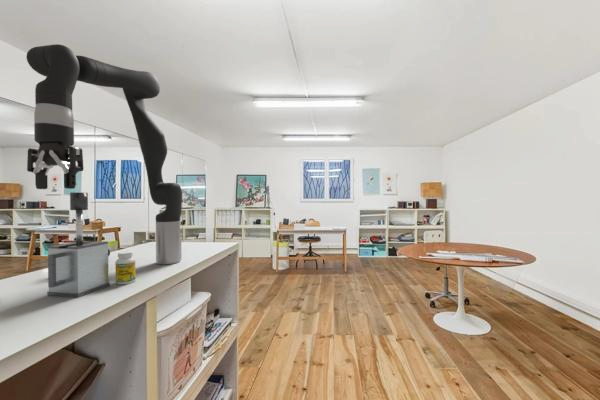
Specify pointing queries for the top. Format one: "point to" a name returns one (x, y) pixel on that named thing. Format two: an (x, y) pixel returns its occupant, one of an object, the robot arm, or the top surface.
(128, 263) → the supplement bottle
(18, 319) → the top surface
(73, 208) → the dark grey knob handle
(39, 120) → the robot arm
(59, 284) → the grey box
